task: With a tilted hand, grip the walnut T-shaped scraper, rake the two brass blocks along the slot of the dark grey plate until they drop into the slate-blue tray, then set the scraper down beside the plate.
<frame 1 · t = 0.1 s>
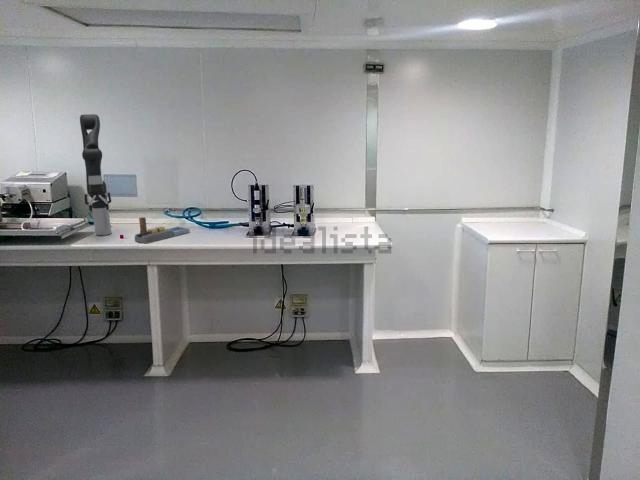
hand: (99, 210, 293), 17 cm above the worktop, fingers open, 8 cm apart
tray: (176, 233, 308), on the worktop
chip b: (160, 232, 298), point 3 cm above the worktop, touching slotted plate
chip a: (152, 234, 294), point 3 cm above the worktop, touching slotted plate
slotted plate: (154, 238, 295), on the worktop
scraper: (144, 236, 289), point 3 cm above the worktop, touching slotted plate
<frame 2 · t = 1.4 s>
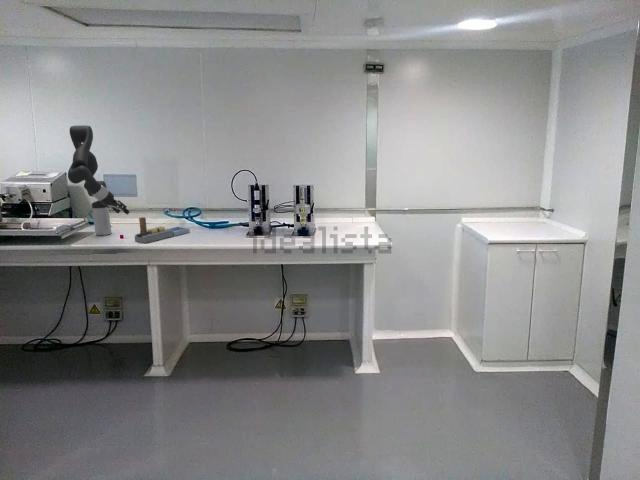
hand: (123, 212, 275), 19 cm above the worktop, fingers open, 8 cm apart
nothing on the worktop moved.
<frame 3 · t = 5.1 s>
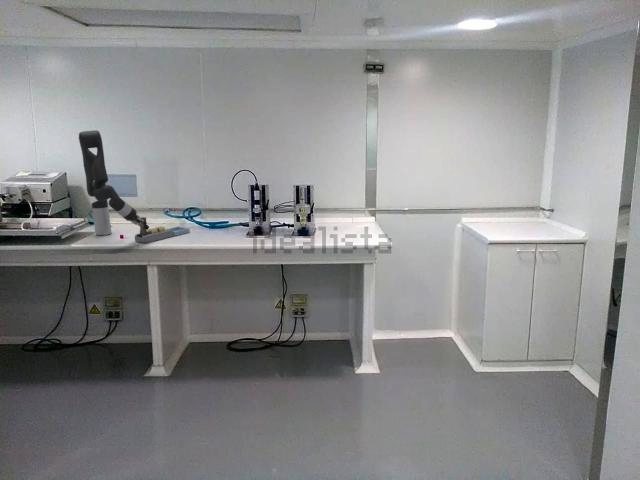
hand: (146, 227, 289), 8 cm above the worktop, fingers closed on scraper, 2 cm apart
scraper: (143, 236, 288), point 3 cm above the worktop, touching gripper, slotted plate
everything else where it was.
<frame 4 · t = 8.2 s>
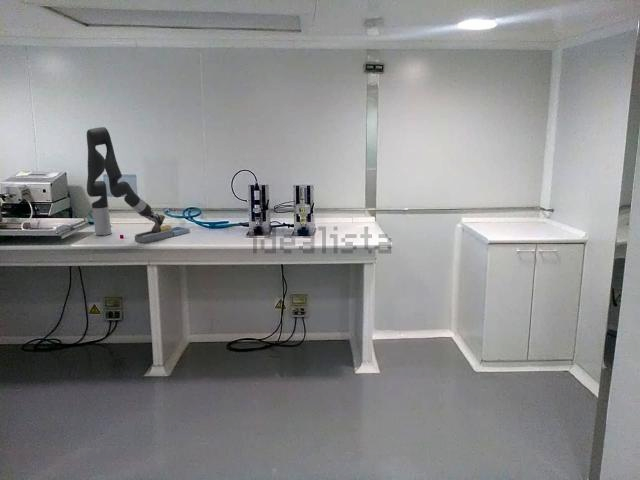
hand: (160, 223, 297), 8 cm above the worktop, fingers closed on scraper, 2 cm apart
chip b: (166, 230, 302), point 3 cm above the worktop, touching chip a, slotted plate
chip a: (161, 232, 299), point 3 cm above the worktop, touching chip b, slotted plate
scraper: (154, 231, 294), point 4 cm above the worktop, tilted 39°, touching gripper
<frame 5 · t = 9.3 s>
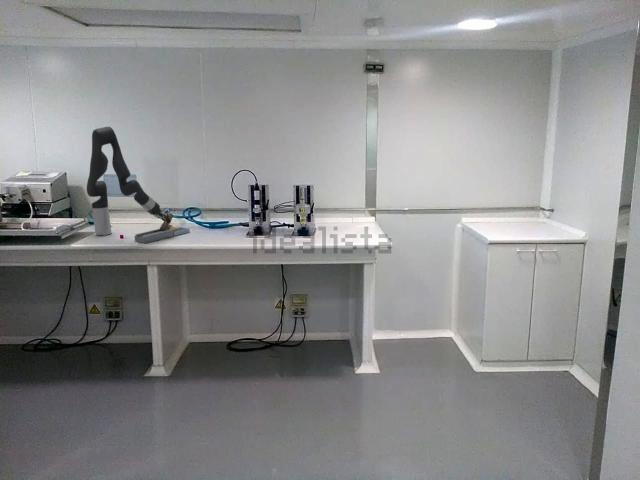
hand: (168, 221, 302), 8 cm above the worktop, fingers closed on scraper, 2 cm apart
chip b: (176, 227, 307), point 3 cm above the worktop, tilted 180°, touching chip a, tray
chip a: (169, 230, 303), point 3 cm above the worktop, tilted 43°, touching chip b, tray
scraper: (163, 229, 299), point 4 cm above the worktop, tilted 39°, touching gripper
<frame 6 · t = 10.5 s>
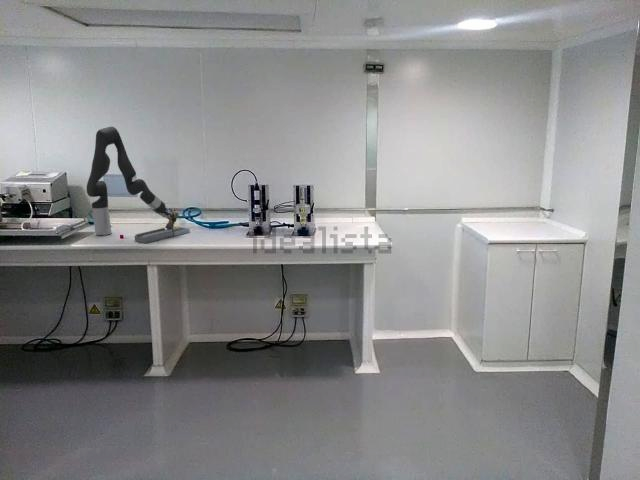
hand: (173, 220, 305), 8 cm above the worktop, fingers closed on scraper, 2 cm apart
chip b: (177, 227, 308), point 3 cm above the worktop, tilted 180°, touching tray
chip a: (171, 230, 304), point 2 cm above the worktop, tilted 90°, touching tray
scraper: (168, 228, 303), point 4 cm above the worktop, tilted 39°, touching gripper
when the fingers open (6 cm above the worktop, at t = 16.5 s): scraper moves 1 cm and tips over, point 1 cm above the worktop.
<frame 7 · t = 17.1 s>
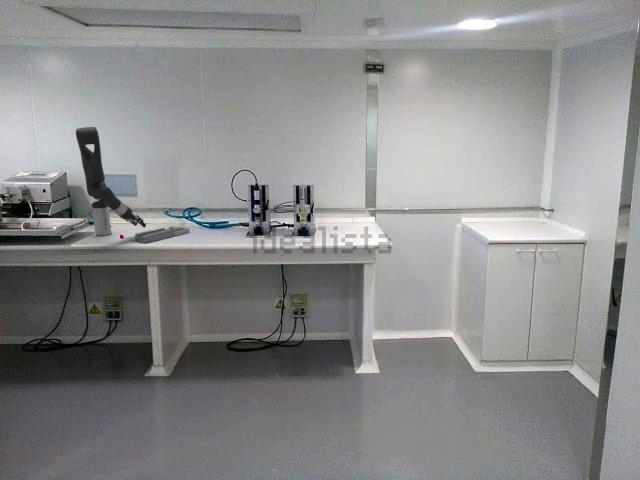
hand: (140, 225, 299), 7 cm above the worktop, fingers open, 8 cm apart
scraper: (137, 235, 298), point 1 cm above the worktop, tilted 90°
everything else where it was.
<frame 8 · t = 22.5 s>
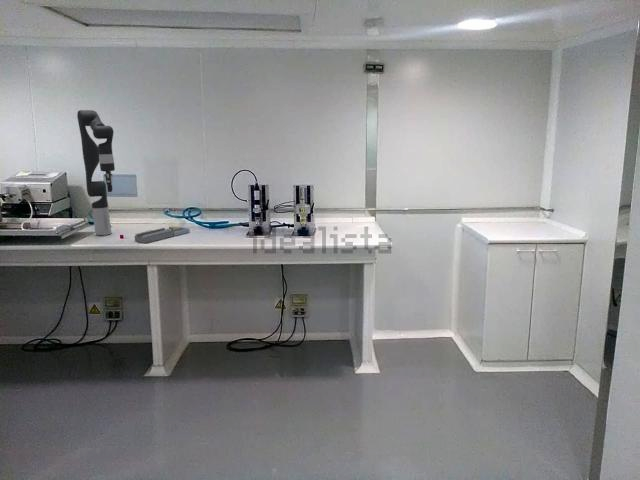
hand: (110, 190, 281), 30 cm above the worktop, fingers open, 8 cm apart
nothing on the worktop moved.
at the end: chip a 4.0 cm from the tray (horizontally); chip b 1.0 cm from the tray (horizontally); the gripper is holding nothing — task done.
